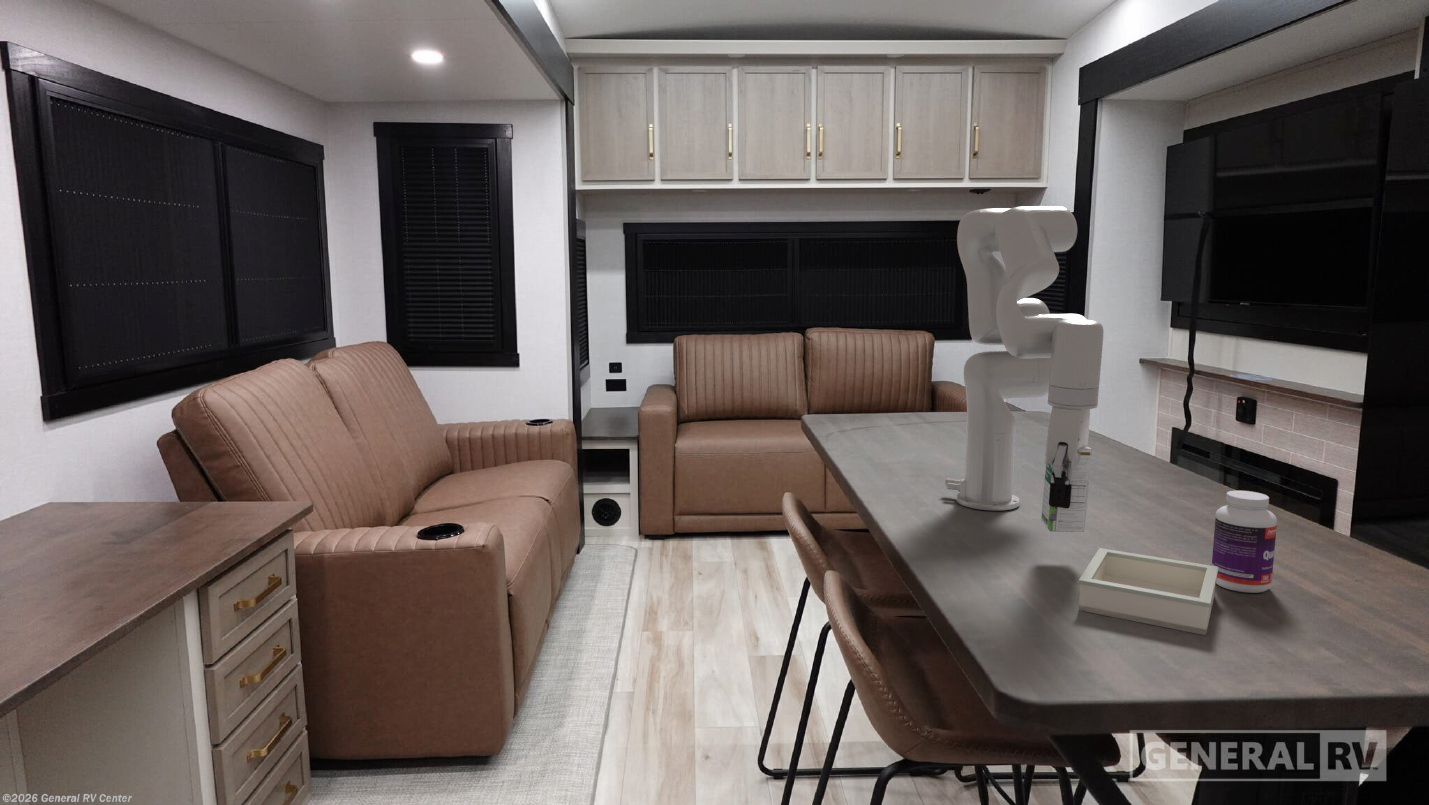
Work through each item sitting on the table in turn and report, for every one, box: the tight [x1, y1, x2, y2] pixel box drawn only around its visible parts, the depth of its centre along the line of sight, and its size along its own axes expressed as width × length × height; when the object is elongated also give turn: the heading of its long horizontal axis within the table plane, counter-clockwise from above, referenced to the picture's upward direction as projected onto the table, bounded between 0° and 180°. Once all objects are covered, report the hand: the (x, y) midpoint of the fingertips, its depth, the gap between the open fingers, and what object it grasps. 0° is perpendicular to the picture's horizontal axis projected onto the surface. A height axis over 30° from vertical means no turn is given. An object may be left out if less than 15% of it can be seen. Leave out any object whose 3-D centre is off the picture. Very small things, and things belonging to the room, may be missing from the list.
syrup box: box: [1040, 445, 1093, 533], centre depth 142 cm, size 6×6×14 cm
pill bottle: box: [1210, 490, 1278, 594], centre depth 131 cm, size 8×8×14 cm
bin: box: [1078, 547, 1218, 636], centre depth 126 cm, size 16×16×5 cm
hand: (1064, 499), depth 143 cm, fingers closed on syrup box, 7 cm apart
